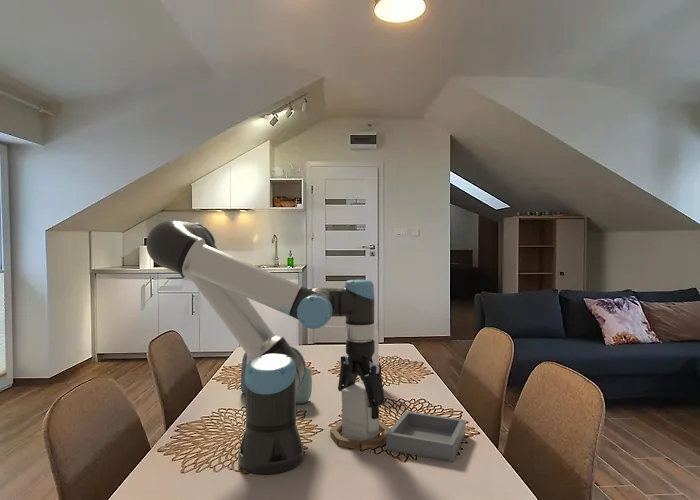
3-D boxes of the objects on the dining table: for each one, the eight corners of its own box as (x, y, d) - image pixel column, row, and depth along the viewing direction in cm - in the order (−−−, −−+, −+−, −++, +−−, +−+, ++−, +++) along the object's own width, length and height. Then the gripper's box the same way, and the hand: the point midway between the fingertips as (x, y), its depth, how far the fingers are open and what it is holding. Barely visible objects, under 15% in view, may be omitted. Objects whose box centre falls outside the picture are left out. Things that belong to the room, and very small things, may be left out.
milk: (378, 389, 159) (378, 325, 158) (361, 390, 158) (361, 326, 158) (376, 383, 165) (376, 322, 164) (359, 384, 165) (359, 322, 164)
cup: (308, 406, 143) (307, 374, 143) (284, 405, 145) (283, 373, 144) (314, 398, 151) (314, 367, 150) (292, 396, 152) (291, 366, 152)
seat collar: (377, 452, 112) (377, 446, 112) (322, 442, 118) (322, 436, 118) (396, 429, 126) (396, 423, 126) (346, 420, 132) (346, 415, 132)
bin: (452, 462, 107) (452, 445, 107) (386, 449, 114) (386, 433, 114) (465, 434, 122) (465, 419, 122) (405, 425, 129) (405, 410, 128)
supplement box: (380, 433, 123) (379, 386, 123) (365, 444, 117) (364, 394, 117) (356, 427, 127) (356, 381, 127) (341, 437, 121) (340, 389, 121)
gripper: (399, 344, 115) (400, 434, 116) (345, 331, 132) (346, 409, 133) (377, 348, 111) (377, 442, 111) (324, 334, 127) (324, 416, 128)
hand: (360, 424), depth 122 cm, fingers open, 9 cm apart
